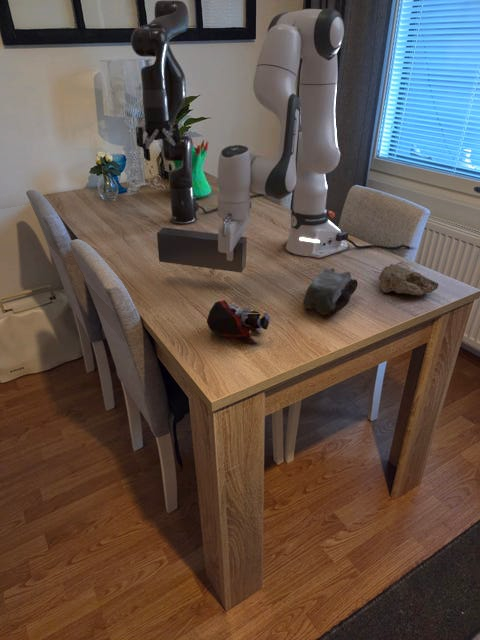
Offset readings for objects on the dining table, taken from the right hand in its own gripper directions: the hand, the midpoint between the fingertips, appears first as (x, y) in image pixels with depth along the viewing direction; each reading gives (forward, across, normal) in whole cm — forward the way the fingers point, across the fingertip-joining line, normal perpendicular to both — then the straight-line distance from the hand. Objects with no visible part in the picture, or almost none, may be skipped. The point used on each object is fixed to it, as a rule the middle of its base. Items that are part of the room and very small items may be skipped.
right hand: (233, 255), depth 130 cm
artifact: (+9, +12, -50) cm, 52 cm away
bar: (+4, 0, +10) cm, 10 cm away
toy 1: (+10, +88, +45) cm, 99 cm away
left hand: (-20, +26, +32) cm, 46 cm away
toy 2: (+10, -27, -8) cm, 30 cm away
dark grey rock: (+10, -4, -30) cm, 31 cm away
